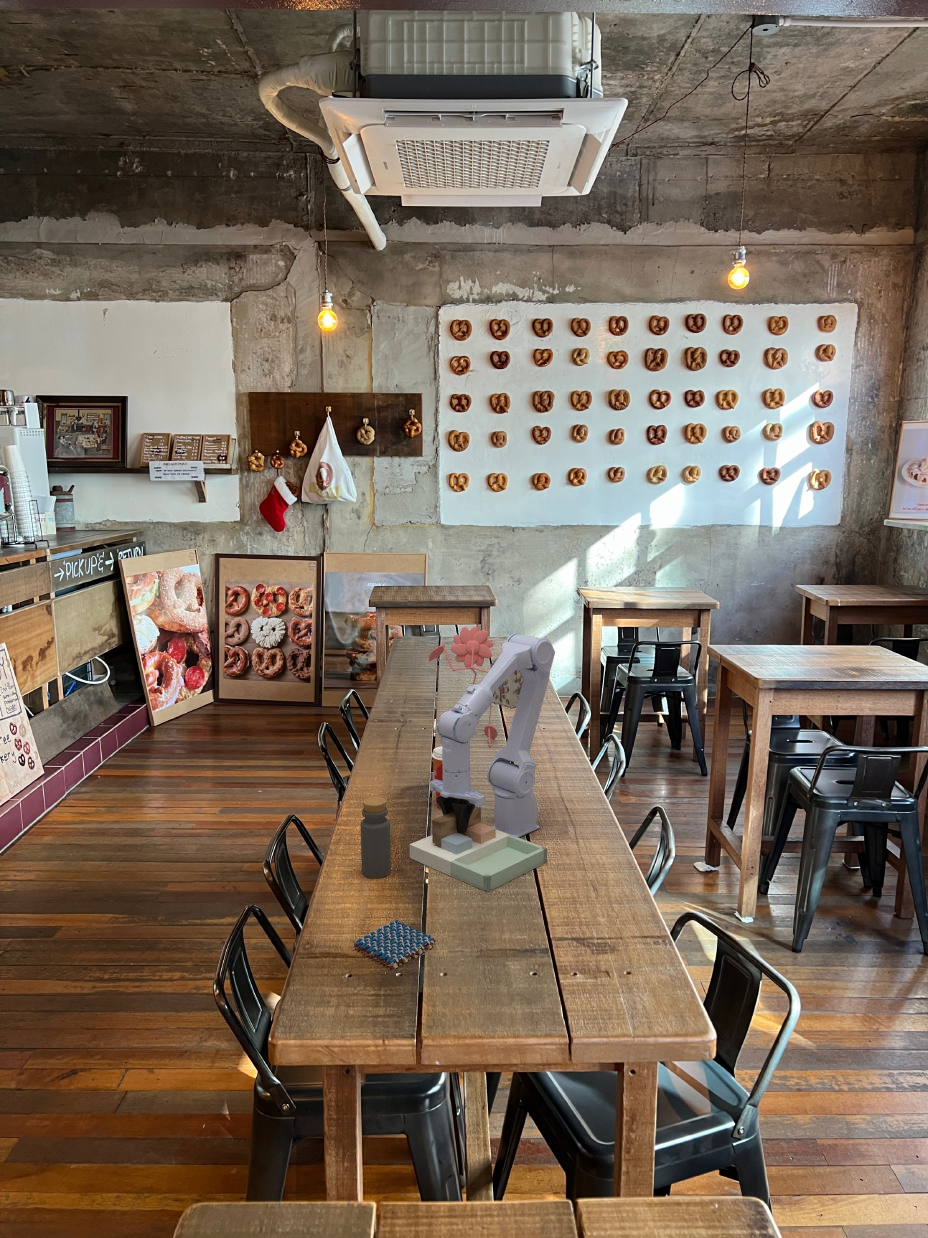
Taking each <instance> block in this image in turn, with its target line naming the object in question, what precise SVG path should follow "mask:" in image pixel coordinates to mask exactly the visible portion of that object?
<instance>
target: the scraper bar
mask: <svg viewBox="0 0 928 1238" xmlns="http://www.w3.org/2000/svg"><path fill="white" fill-rule="evenodd" d="M478 823H482V806H480V807H476V806H475V808H474V810H473V812H472V814H471V817H470V820H469V823H468V827H467V828H469V827H471V826H474V825H476V824H478ZM431 830H432V831H431V833H432V834H431V835H432V843H434V844H436V845H439V846H441V839H442V838H444V837H447V836H449V835H452V834H454V833H458V832H457V826H456V816H455V812H451V813H449V814H446V815H443V814H442V815H441V816H439V817H436V818H434V819H431ZM462 835H464V836H466V832H464V833H462Z"/></svg>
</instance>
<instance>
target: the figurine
mask: <svg viewBox="0 0 928 1238" xmlns="http://www.w3.org/2000/svg"><path fill="white" fill-rule="evenodd" d="M489 633H490V632H489V631H488V630H485V629H482V630H480V628H479V626H473V627H471V628H470V629H469V628H467V627H466V626H462V628H461V629H460V633H459V634H455V635H454V636H453V641H454V644H453V645H451V646H450V651H451V652H452V653H453V654H455V657H454V661H455V662H456V663H464V664H463V665H464V667H460V668H454V667H453V665H452V663H451V660H450V657H449V655H448V652H447V650H446V649H447V648H446V647H445V646H446V645H445V644H441V645H438V646H437V647H435V648H434V649H433V650H432V651H431V652H430V654H429V655H428V662H432V661H433V660H435V659H436V660H437V658H439V657H440V656H441V655H442V654H443V653H445V656H446V659H447V662H448V664H449V667H450V669H451V670H452V672H456V671H462V670H464V671H465V670H472V672H473V673H474V676H473V681H472V685H474V684H476V682H475V681H476V678H477V672H476V671H479V672H483V673H486V674H487V673H488V672H489V670H486V669H485V670H484V669H481V668H478V667H482V666H483V665H484V662H485V659H491V658H492V657H493V653H492V650H491V648H492V647H494V643H493V641H492V640H490V639H488V637H489ZM474 665H475V666H476V667H474ZM477 666H478V667H477ZM492 707H493V705H492V704H491V705H490V706H489V716H488V724H487V725H485V726H484V728H483V732H484V733H483V734H484V735H485V737H487V738H488V747H489V748H491V747H492V745H491V740H492V741H495V740H496V738H497V737H498V731H497V728H496V727H494V726H493V725H491V715H492Z"/></svg>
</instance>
